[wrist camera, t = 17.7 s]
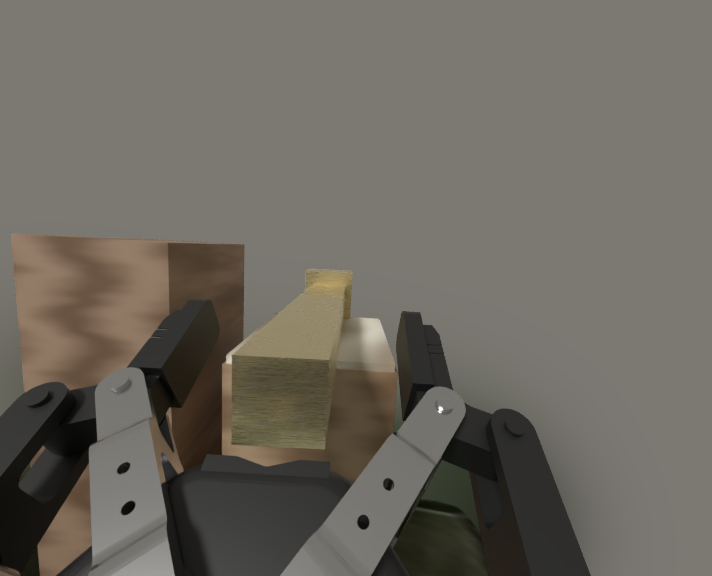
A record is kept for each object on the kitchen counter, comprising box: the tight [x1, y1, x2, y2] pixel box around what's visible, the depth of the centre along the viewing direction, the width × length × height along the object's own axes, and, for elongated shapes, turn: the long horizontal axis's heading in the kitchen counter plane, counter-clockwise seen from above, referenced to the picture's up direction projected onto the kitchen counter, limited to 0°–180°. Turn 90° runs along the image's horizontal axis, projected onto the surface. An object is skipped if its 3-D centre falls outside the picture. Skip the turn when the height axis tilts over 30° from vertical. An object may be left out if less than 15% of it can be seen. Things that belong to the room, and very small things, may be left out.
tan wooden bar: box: [231, 269, 353, 449], centre depth 24 cm, size 5×26×5 cm, turn 0°
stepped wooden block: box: [11, 234, 398, 576], centre depth 29 cm, size 26×14×36 cm, turn 90°
